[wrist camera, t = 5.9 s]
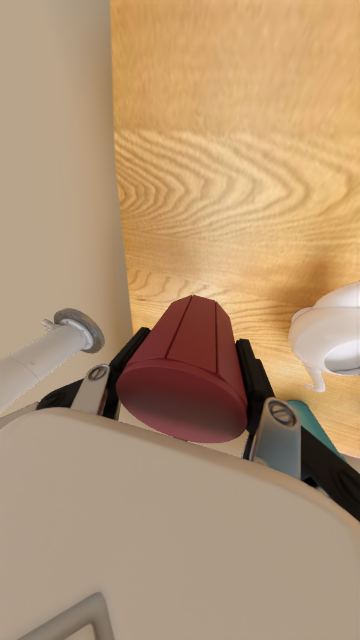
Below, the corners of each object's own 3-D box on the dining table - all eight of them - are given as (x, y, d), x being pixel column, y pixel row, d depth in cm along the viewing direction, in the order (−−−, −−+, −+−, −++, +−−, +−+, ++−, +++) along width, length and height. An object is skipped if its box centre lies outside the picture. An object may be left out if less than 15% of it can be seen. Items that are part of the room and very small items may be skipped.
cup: (256, 403, 37) (276, 485, 25) (269, 389, 33) (300, 478, 20) (310, 419, 35) (363, 518, 22) (331, 406, 31) (409, 517, 18)
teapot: (263, 356, 28) (280, 399, 21) (296, 257, 19) (353, 267, 11) (316, 362, 26) (358, 413, 18) (387, 252, 16) (543, 259, 8)
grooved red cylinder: (155, 332, 15) (106, 404, 8) (184, 280, 11) (136, 336, 4) (203, 360, 15) (194, 451, 9) (246, 320, 12) (290, 424, 5)
